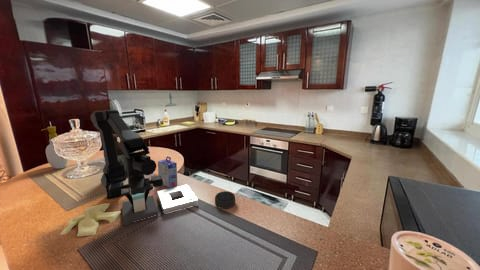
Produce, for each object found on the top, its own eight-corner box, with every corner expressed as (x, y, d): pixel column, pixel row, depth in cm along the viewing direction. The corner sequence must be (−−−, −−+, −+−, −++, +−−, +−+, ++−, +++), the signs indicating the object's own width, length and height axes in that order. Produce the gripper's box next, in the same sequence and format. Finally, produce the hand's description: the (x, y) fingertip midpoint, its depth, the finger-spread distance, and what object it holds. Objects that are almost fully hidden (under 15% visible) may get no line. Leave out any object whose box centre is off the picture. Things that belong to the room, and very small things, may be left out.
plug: (134, 216, 77) (132, 198, 76) (134, 208, 82) (132, 191, 81) (146, 213, 79) (144, 195, 78) (144, 206, 84) (142, 188, 83)
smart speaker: (222, 196, 93) (222, 188, 92) (238, 202, 89) (238, 194, 88) (210, 205, 86) (210, 197, 85) (227, 212, 81) (227, 203, 80)
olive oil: (105, 177, 111) (99, 134, 105) (126, 172, 118) (121, 131, 113) (109, 184, 103) (103, 138, 98) (131, 178, 111) (126, 135, 105)
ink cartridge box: (178, 184, 104) (176, 158, 101) (169, 188, 100) (167, 161, 97) (167, 179, 110) (165, 154, 107) (158, 182, 106) (156, 157, 103)
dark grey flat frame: (123, 225, 72) (122, 220, 72) (122, 206, 84) (122, 202, 83) (158, 215, 78) (157, 211, 78) (153, 199, 90) (153, 195, 89)
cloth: (101, 202, 88) (99, 189, 86) (132, 211, 81) (131, 198, 80) (36, 235, 67) (32, 219, 66) (71, 251, 61) (67, 234, 60)
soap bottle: (43, 168, 123) (34, 127, 118) (60, 163, 131) (52, 124, 126) (56, 171, 118) (47, 129, 112) (73, 166, 126) (66, 126, 120)
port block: (163, 215, 78) (163, 207, 77) (157, 197, 92) (157, 190, 91) (198, 205, 85) (197, 198, 84) (187, 190, 99) (187, 183, 98)
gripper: (105, 181, 65) (111, 222, 69) (164, 171, 75) (167, 207, 78) (107, 170, 75) (112, 206, 78) (159, 162, 84) (162, 195, 87)
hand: (139, 204), depth 80 cm, fingers closed on plug, 4 cm apart
